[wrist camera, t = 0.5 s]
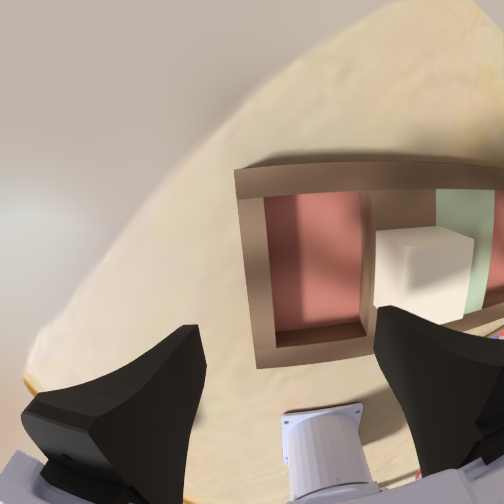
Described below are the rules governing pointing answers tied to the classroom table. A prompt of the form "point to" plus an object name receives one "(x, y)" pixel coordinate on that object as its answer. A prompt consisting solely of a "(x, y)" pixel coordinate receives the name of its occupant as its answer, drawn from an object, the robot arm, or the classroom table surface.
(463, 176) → the tray
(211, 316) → the classroom table surface
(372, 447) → the classroom table surface
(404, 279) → the block
